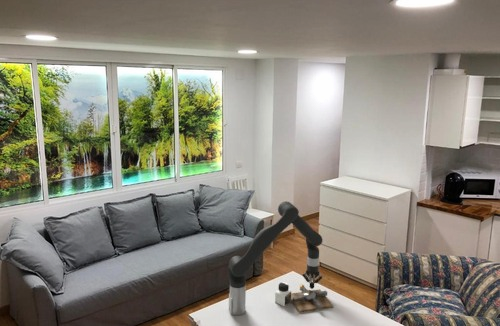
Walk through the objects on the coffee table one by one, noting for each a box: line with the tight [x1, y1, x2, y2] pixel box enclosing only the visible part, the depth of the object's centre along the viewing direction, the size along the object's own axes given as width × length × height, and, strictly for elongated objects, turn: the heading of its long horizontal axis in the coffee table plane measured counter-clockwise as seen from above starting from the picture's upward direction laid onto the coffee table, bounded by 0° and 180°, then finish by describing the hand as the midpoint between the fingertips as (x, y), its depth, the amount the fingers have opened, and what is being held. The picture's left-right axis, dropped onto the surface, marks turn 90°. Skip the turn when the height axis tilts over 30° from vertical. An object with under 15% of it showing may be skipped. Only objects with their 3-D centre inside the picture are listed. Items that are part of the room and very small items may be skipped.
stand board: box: [290, 289, 334, 314], centre depth 234 cm, size 22×18×2 cm
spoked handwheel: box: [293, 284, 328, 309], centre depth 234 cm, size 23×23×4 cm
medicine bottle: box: [274, 281, 292, 307], centre depth 233 cm, size 7×7×12 cm
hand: (311, 288), depth 244 cm, fingers closed
